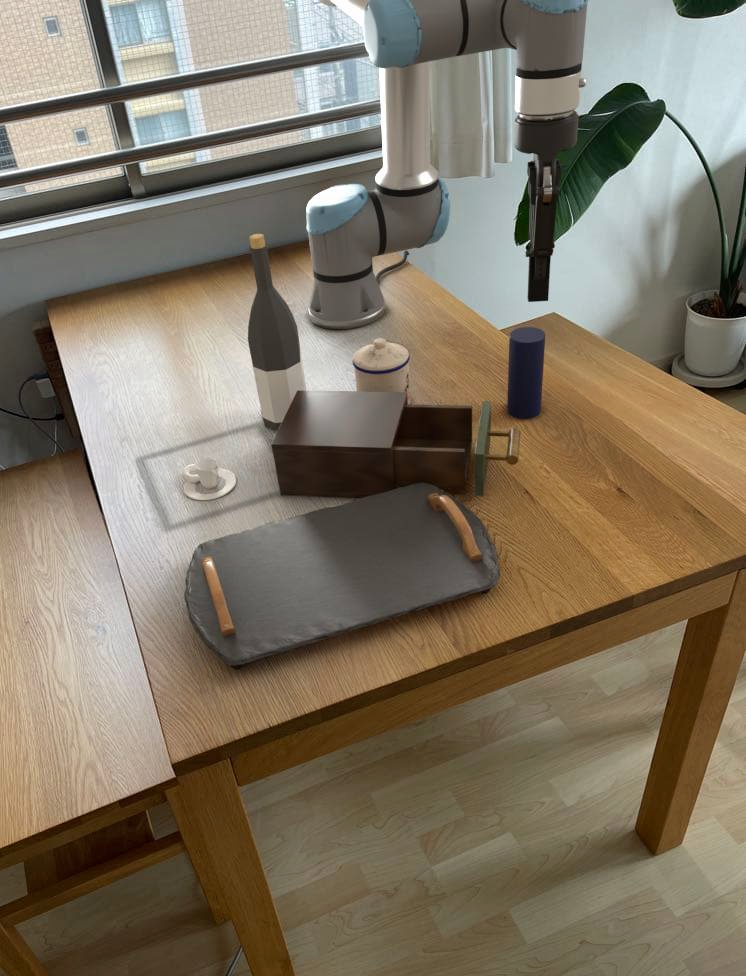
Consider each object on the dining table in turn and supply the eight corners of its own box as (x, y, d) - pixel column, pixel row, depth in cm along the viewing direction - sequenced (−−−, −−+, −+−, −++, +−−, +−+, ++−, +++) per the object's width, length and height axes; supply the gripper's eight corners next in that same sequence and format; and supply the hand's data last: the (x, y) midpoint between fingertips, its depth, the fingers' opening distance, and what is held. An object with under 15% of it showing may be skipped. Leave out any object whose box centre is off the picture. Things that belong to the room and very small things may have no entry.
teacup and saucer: (177, 478, 125) (171, 456, 122) (227, 463, 127) (222, 441, 124) (191, 508, 118) (185, 486, 116) (243, 492, 120) (238, 469, 118)
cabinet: (410, 442, 125) (407, 392, 120) (394, 500, 114) (390, 448, 109) (304, 439, 129) (297, 390, 123) (280, 495, 118) (270, 444, 113)
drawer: (520, 442, 121) (522, 401, 116) (516, 497, 110) (517, 455, 106) (387, 438, 125) (384, 399, 121) (371, 491, 115) (367, 450, 111)
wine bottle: (256, 414, 137) (221, 234, 118) (300, 400, 139) (273, 221, 120) (272, 436, 131) (238, 251, 112) (318, 422, 133) (292, 237, 114)
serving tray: (208, 691, 91) (196, 653, 87) (176, 565, 108) (165, 529, 104) (523, 593, 98) (526, 554, 94) (446, 489, 115) (445, 453, 111)
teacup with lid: (418, 413, 131) (415, 347, 124) (363, 424, 131) (357, 358, 123) (399, 379, 141) (395, 316, 133) (348, 389, 140) (341, 326, 133)
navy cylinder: (507, 401, 132) (510, 326, 123) (541, 402, 130) (545, 326, 122) (506, 418, 128) (508, 342, 119) (540, 419, 127) (545, 342, 118)
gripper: (585, 122, 93) (570, 317, 108) (573, 97, 103) (561, 279, 118) (518, 128, 94) (512, 320, 109) (512, 103, 104) (508, 282, 119)
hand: (537, 299), depth 113 cm, fingers closed
